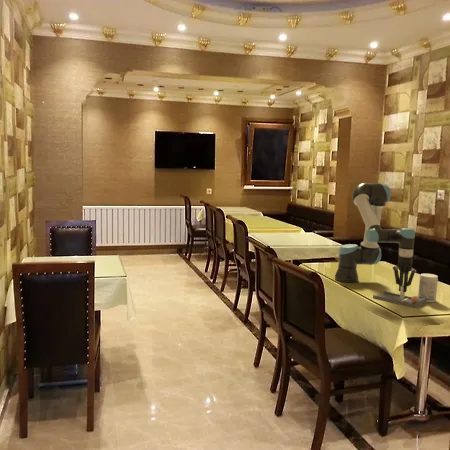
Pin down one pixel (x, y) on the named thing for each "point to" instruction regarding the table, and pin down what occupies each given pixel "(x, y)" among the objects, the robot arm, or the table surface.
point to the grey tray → (400, 299)
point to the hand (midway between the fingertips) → (402, 297)
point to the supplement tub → (428, 287)
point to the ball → (414, 299)
